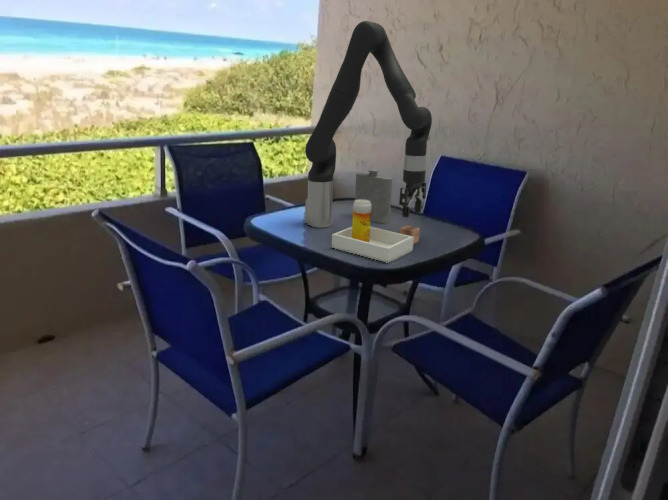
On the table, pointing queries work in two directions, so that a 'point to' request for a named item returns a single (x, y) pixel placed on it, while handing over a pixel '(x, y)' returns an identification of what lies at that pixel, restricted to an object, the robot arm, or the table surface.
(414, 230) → the wooden cube
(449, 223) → the table surface
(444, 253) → the table surface
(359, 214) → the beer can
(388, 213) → the hip flask
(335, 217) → the table surface
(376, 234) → the tray
